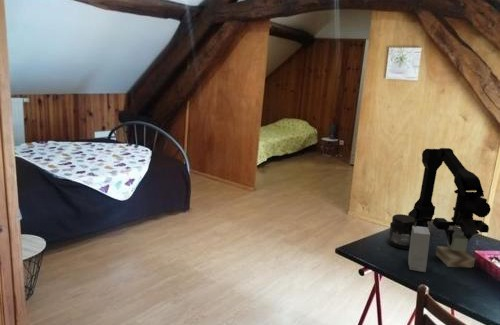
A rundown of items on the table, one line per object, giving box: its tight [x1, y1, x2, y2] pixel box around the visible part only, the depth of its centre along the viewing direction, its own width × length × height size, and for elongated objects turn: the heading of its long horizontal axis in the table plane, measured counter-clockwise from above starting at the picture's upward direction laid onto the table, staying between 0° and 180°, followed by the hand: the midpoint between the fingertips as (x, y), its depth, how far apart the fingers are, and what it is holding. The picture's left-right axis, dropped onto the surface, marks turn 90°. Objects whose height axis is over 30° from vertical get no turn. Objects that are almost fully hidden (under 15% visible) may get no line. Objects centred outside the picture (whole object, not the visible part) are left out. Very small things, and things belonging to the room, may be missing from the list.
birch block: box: [435, 245, 476, 268], centre depth 156 cm, size 10×10×4 cm
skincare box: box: [407, 226, 431, 273], centre depth 149 cm, size 8×6×15 cm
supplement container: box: [387, 213, 417, 250], centre depth 168 cm, size 10×10×12 cm
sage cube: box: [446, 232, 469, 251], centre depth 155 cm, size 5×5×5 cm
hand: (456, 245), depth 155 cm, fingers closed on sage cube, 5 cm apart
